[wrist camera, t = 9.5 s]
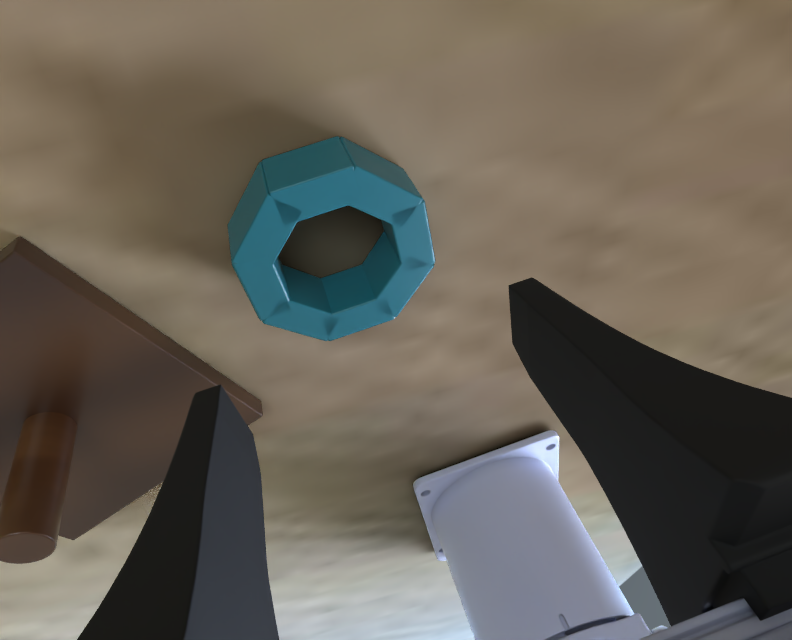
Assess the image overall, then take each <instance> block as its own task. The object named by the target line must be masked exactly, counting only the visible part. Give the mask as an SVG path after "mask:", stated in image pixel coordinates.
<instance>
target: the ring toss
mask: <svg viewBox="0 0 792 640" xmlns="http://www.w3.org/2000/svg"><path fill="white" fill-rule="evenodd" d="M220 384H221V385H222V387H223V388H224V390H225V391H226V393H227V395H228V396H229V398H230V399H231V401H232V402H233V404H234V406H235V407H236V409H237V410H238V412H239V413H240V415H241V416H242V418H243V420H244V421H245V423H246V424H247V426H248V425H249V424H251V423H252V422H254V421H255V420H257V419H258V418H260V417H261V416H262V415H263V414H262V406H261V401H260V400H259V399H257V398H256V397H254V396H253V395H251V394H250V393H248V392H247V391H246V390H244V389H243V388H241V387H240V386H238V385H237V384H235V383H234V382H232V381H231V380H229V379H228V378H227V377H225V376H224V375H222V374H221V373H219V372H218V371H216V370H215V369H213V368H212V367H211V366H209V365H208V364H206V363H205V362H203V361H202V360H200V359H199V358H197V357H196V356H194V355H193V354H192V353H190V352H189V351H187V350H186V349H184V348H183V347H181V346H180V345H178V344H177V343H175V342H174V341H173V340H171V339H170V338H168V337H167V336H165V335H164V334H162V333H161V332H159V331H158V330H157V329H155V328H154V327H152V326H151V325H149V324H148V323H146V322H145V321H143V320H142V319H140V318H139V317H138V316H136V315H135V314H133V313H132V312H130V311H129V310H127V309H126V308H124V307H123V306H121V305H120V304H119V303H117V302H116V301H114V300H113V299H111V298H110V297H108V296H107V295H105V294H104V293H103V292H101V291H100V290H98V289H97V288H95V287H94V286H92V285H91V284H89V283H88V282H86V281H85V280H84V279H82V278H81V277H79V276H78V275H76V274H75V273H73V272H72V271H70V270H69V269H67V268H66V267H65V266H63V265H62V264H60V263H59V262H57V261H56V260H54V259H53V258H51V257H50V256H49V255H47V254H46V253H44V252H43V251H41V250H40V249H38V248H37V247H35V246H34V245H32V244H31V243H30V242H28V241H27V240H25V239H24V238H22V237H18V238H17V239H15V240H14V241H13V242H12V243H10V244H9V245H8V246H7V247H5V248H4V249H3V250H2V251H0V561H2V562H7V563H15V564H22V563H31V562H36V561H39V560H42V559H44V558H46V557H48V556H49V555H51V554H52V553H53V552H54V550H55V549H56V545H57V539H58V535H59V536H62V537H65V538H68V539H71V540H75V539H76V538H78V537H79V536H81V535H82V534H84V533H86V532H87V531H89V530H90V529H92V528H93V527H95V526H96V525H98V524H99V523H101V522H102V521H104V520H105V519H107V518H108V517H110V516H111V515H113V514H114V513H116V512H117V511H119V510H120V509H122V508H123V507H125V506H126V505H128V504H130V503H131V502H133V501H134V500H136V499H137V498H139V497H140V496H142V495H143V494H145V493H146V492H148V491H149V490H151V489H152V488H154V487H155V486H157V485H158V484H160V483H161V482H163V481H164V479H165V477H166V474H167V471H168V469H169V466H170V463H171V461H172V458H173V455H174V453H175V450H176V447H177V444H178V442H179V439H180V436H181V433H182V430H183V427H184V424H185V421H186V418H187V415H188V411H189V408H190V405H191V402H192V399H193V396H194V395H195V393H196V392H199V391H202V390H205V389H208V388H211V387H214V386H217V385H220Z"/></svg>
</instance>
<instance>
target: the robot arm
mask: <svg viewBox="0 0 792 640" xmlns="http://www.w3.org/2000/svg"><path fill="white" fill-rule="evenodd" d="M509 299H510V313H511V328H512V343H513V345H514V347H515V349H516V351H517V353H518V355H519V357H520V359H521V361H522V363H523V365H524V367H525V368H526V370H527V372H528V374H529V376H530V378H531V379H532V381H533V382H534V384H535V385H536V387H537V388H538V389H539V391H540V392H541V394H542V395H543V397H544V398H545V400H546V401H547V403H548V404H549V405H550V407H551V408H552V410H553V411H554V413H555V414H556V416H557V417H558V418H559V420H560V421H561V423H562V424H563V426H564V427H565V428H566V430H567V431H568V433H569V434H570V436H571V437H572V438H573V440H574V441H575V443H576V444H577V446H578V447H579V449H580V450H581V452H582V454H583V455H584V457H585V458H586V460H587V461H588V463H589V465H590V467H591V469H592V470H593V472H594V474H595V476H596V478H597V479H598V481H599V483H600V485H601V487H602V488H603V490H604V492H605V494H606V496H607V498H608V500H609V501H610V503H611V505H612V507H613V509H614V511H615V513H616V515H617V517H618V518H619V520H620V522H621V524H622V526H623V528H624V530H625V532H626V534H627V536H628V538H629V540H630V542H631V544H632V546H633V548H634V550H635V552H636V554H637V556H638V558H639V560H640V562H641V564H642V566H643V568H644V570H645V572H646V574H647V576H648V578H649V580H650V582H651V584H652V586H653V589H654V591H655V593H656V595H657V597H658V599H659V601H660V603H661V605H662V608H663V610H664V612H665V614H666V616H667V618H668V621H669V623H670V625H671V627H668V628H667V627H665V626H663V625H660V626H658V627H656V628H654V629H652V630H651V632H650V630H649V629H648V627H647V625H646V623H645V622H644V620H643V618H642V617H641V615H640V614H639V613H636V614H634V613H633V611H632V609H631V607H630V606H629V604H628V602H627V600H626V599H625V597H624V595H623V593H622V592H621V590H620V588H619V586H618V585H617V583H616V581H615V580H614V578H613V576H612V574H611V573H610V571H609V569H608V567H607V566H606V564H605V562H604V560H603V559H602V557H601V555H600V553H599V552H598V550H597V548H596V547H595V545H594V543H593V541H592V540H591V538H590V536H589V534H588V533H587V531H586V529H585V527H584V526H583V524H582V522H581V520H580V519H579V517H578V515H577V514H576V512H575V510H574V508H573V507H572V505H571V503H570V501H569V500H568V498H567V496H566V494H565V493H564V491H563V489H562V487H561V486H560V484H559V482H558V464H559V436H558V434H557V433H556V431H554V430H549V431H546V432H543V433H540V434H537V435H535V436H532V437H529V438H527V439H524V440H521V441H518V442H516V443H513V444H510V445H507V446H505V447H502V448H499V449H497V450H494V451H491V452H488V453H486V454H483V455H480V456H477V457H475V458H472V459H469V460H467V461H464V462H461V463H458V464H456V465H453V466H450V467H447V468H445V469H442V470H439V471H437V472H434V473H431V474H428V475H426V476H423V477H420V478H418V479H417V480H415V482H414V483H413V488H414V491H415V494H416V497H417V500H418V503H419V506H420V509H421V512H422V515H423V518H424V521H425V524H426V527H427V530H428V533H429V536H430V539H431V542H432V545H433V548H434V551H435V554H436V557H437V559H438V560H439V561H444V560H447V563H448V566H449V569H450V571H451V574H452V577H453V580H454V582H455V585H456V588H457V591H458V594H459V596H460V599H461V602H462V605H463V607H464V610H465V613H466V616H467V619H468V621H469V624H470V627H471V630H472V632H473V635H474V638H475V640H792V398H790V397H786V396H783V395H779V394H776V393H772V392H769V391H765V390H762V389H758V388H755V387H751V386H748V385H745V384H742V383H739V382H736V381H733V380H730V379H727V378H724V377H721V376H718V375H716V374H713V373H710V372H707V371H704V370H702V369H699V368H696V367H694V366H691V365H689V364H686V363H684V362H681V361H679V360H677V359H675V358H672V357H670V356H668V355H665V354H663V353H661V352H659V351H656V350H654V349H652V348H650V347H648V346H646V345H644V344H642V343H640V342H638V341H636V340H634V339H632V338H631V337H629V336H627V335H625V334H623V333H621V332H619V331H618V330H616V329H614V328H612V327H610V326H609V325H607V324H605V323H604V322H602V321H600V320H598V319H597V318H595V317H593V316H592V315H590V314H588V313H587V312H585V311H583V310H582V309H580V308H579V307H577V306H575V305H574V304H572V303H571V302H569V301H568V300H566V299H565V298H563V297H562V296H560V295H558V294H557V293H555V292H554V291H552V290H551V289H549V288H548V287H546V286H545V285H543V284H542V283H540V282H539V281H537V280H536V279H534V278H529V279H526V280H523V281H520V282H517V283H514V284H511V285H509ZM651 633H652V634H651ZM77 640H279V636H278V631H277V625H276V620H275V614H274V608H273V602H272V596H271V591H270V585H269V578H268V569H267V559H266V544H265V528H264V513H263V498H262V484H261V472H260V467H259V462H258V456H257V451H256V447H255V442H254V437H253V434H252V432H251V431H250V429H249V427H248V426H247V424H246V423H245V421H244V420H243V418H242V416H241V415H240V413H239V412H238V410H237V409H236V407H235V406H234V404H233V402H232V401H231V399H230V398H229V396H228V395H227V393H226V391H225V390H224V388H223V387H222V385H221V384H220V385H217V386H214V387H211V388H208V389H205V390H202V391H199V392H196V393H195V395H194V396H193V399H192V402H191V405H190V408H189V411H188V415H187V418H186V421H185V424H184V427H183V430H182V433H181V436H180V439H179V442H178V444H177V447H176V450H175V453H174V455H173V458H172V461H171V463H170V466H169V469H168V471H167V474H166V477H165V479H164V482H163V484H162V487H161V489H160V491H159V493H158V496H157V498H156V500H155V503H154V505H153V507H152V510H151V512H150V514H149V516H148V519H147V521H146V523H145V525H144V527H143V529H142V531H141V533H140V535H139V537H138V539H137V541H136V543H135V545H134V547H133V549H132V551H131V553H130V554H129V556H128V558H127V560H126V562H125V564H124V566H123V567H122V569H121V571H120V572H119V574H118V576H117V578H116V579H115V581H114V583H113V584H112V586H111V588H110V590H109V591H108V593H107V595H106V596H105V598H104V600H103V601H102V603H101V604H100V606H99V608H98V609H97V611H96V612H95V614H94V615H93V617H92V618H91V620H90V621H89V623H88V624H87V626H86V627H85V629H84V630H83V632H82V633H81V635H80V636H79V637H78V639H77Z"/></svg>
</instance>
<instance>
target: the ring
mask: <svg viewBox="0 0 792 640" xmlns="http://www.w3.org/2000/svg"><path fill="white" fill-rule="evenodd" d="M348 205H349V206H352V207H354V208H356V209H358V210H361V211H363V212H365V213H367V214H370V215H372V216H374V217H376V218H378V219H381V221H382V225H383V229H384V232H383V233H382V235H381V236H380V238H379V239H378V241H377V242H376V244H375V245H374V247H373V248H372V250H371V251H370V253H369V254H368V256H367V258H366V259H365V261H364V262H363V264H362V265H359V266H356V267H353V268H350V269H347V270H344V271H341V272H338V273H335V274H332V275H329V276H326V277H323V278H319V277H316V276H313V275H310V274H307V273H304V272H302V271H299V270H296V269H293V268H290V267H287V266H285V265H282V263H281V261H280V258H279V256H278V255H279V253H280V251H281V250H282V248H283V246H284V244H285V243H286V241H287V239H288V237H289V236H290V234H291V232H292V230H293V229H294V227H295V225H296V223H297V222H298V221H302V220H305V219H308V218H311V217H314V216H317V215H320V214H323V213H326V212H329V211H332V210H335V209H338V208H341V207H345V206H348ZM228 234H229V243H230V252H231V261H232V266H233V268H234V270H235V272H236V274H237V276H238V278H239V280H240V282H241V284H242V286H243V288H244V290H245V292H246V294H247V296H248V298H249V300H250V302H251V304H252V306H253V308H254V310H255V312H256V314H257V316H258V318H259V319H260V320H261V321H262V322H263V323H264V324H267V325H271V326H275V327H278V328H282V329H285V330H289V331H292V332H296V333H299V334H303V335H306V336H310V337H313V338H317V339H320V340H324V341H327V340H329V341H332V340H335V339H338V338H341V337H344V336H346V335H349V334H352V333H355V332H358V331H361V330H364V329H367V328H370V327H373V326H376V325H378V324H381V323H384V322H387V321H390V320H393V319H394V317H397V316H398V314H399V313H400V312H401V310H402V309H403V308H404V306H405V305H406V304H407V302H408V301H409V299H410V298H411V297H412V295H413V294H414V293H415V291H416V290H417V289H418V287H419V286H420V284H421V283H422V282H423V280H424V279H425V278H426V276H427V275H428V274H429V272H430V271H431V269H432V268H433V267H434V263H435V256H434V251H433V245H432V240H431V234H430V228H429V223H428V217H427V212H426V206H425V201H424V200H423V198H422V197H421V195H420V194H419V192H418V191H417V189H416V188H415V186H414V184H413V183H412V181H411V180H410V178H409V177H408V175H407V174H406V172H405V171H404V169H403V168H401V167H399V166H397V165H395V164H393V163H391V162H389V161H388V160H386V159H384V158H382V157H380V156H378V155H376V154H374V153H372V152H370V151H368V150H366V149H365V148H363V147H361V146H359V145H357V144H355V143H353V142H351V141H349V140H347V139H345V138H343V137H340V138H339V137H338V136H336V137H333V138H330V139H327V140H324V141H320V142H317V143H314V144H311V145H308V146H305V147H301V148H298V149H295V150H292V151H289V152H286V153H282V154H279V155H276V156H273V157H270V158H267V159H263V160H262V162H260V163H259V164H258V166H257V168H256V170H255V172H254V174H253V176H252V178H251V180H250V182H249V184H248V186H247V188H246V190H245V192H244V194H243V196H242V198H241V200H240V202H239V204H238V206H237V208H236V210H235V212H234V214H233V216H232V218H231V220H230V221H229V223H228Z"/></svg>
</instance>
